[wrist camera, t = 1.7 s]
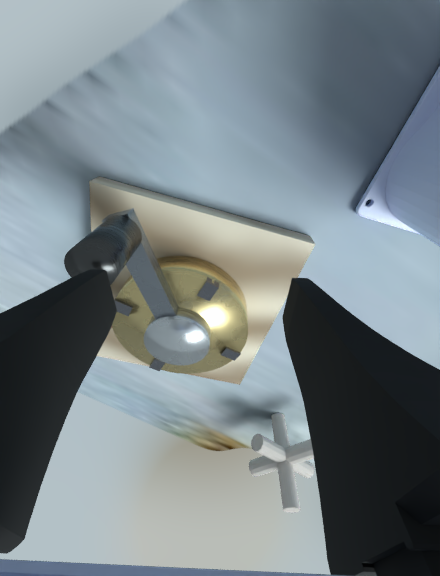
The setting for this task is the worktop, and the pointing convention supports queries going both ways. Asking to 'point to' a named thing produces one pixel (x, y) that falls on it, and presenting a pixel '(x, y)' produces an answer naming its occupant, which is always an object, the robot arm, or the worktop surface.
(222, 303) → the crank handle
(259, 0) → the worktop surface
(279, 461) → the pipe connector
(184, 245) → the beige flat board
